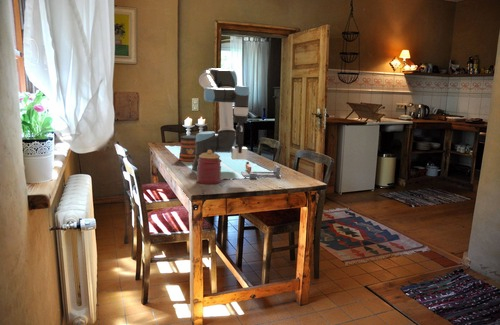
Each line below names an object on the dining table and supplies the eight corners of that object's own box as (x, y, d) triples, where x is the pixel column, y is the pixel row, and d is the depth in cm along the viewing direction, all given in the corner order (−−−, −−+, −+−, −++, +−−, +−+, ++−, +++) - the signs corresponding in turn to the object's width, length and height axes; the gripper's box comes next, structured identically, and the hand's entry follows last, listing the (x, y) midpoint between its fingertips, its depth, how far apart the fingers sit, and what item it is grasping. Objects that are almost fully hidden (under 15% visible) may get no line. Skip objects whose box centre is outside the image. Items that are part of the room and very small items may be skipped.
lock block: (232, 159, 207) (232, 146, 206) (231, 157, 213) (231, 145, 211) (247, 159, 209) (247, 147, 207) (245, 157, 214) (246, 145, 213)
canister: (222, 184, 204) (223, 151, 201) (197, 184, 202) (198, 151, 198) (218, 178, 217) (220, 147, 214) (195, 178, 214) (196, 147, 211)
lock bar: (248, 171, 234) (248, 165, 234) (245, 167, 246) (245, 161, 245) (251, 171, 235) (251, 165, 234) (248, 167, 246) (248, 161, 246)
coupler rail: (244, 178, 221) (245, 169, 220) (241, 172, 236) (241, 163, 235) (281, 179, 224) (282, 169, 223) (276, 173, 239) (276, 164, 238)
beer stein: (203, 157, 279) (204, 130, 275) (208, 161, 265) (209, 132, 262) (177, 158, 273) (178, 130, 269) (180, 162, 259) (181, 132, 255)
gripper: (250, 117, 198) (247, 161, 202) (245, 114, 216) (243, 154, 220) (235, 116, 196) (233, 160, 201) (231, 113, 214) (230, 154, 219)
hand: (238, 157), depth 211 cm, fingers closed on lock block, 5 cm apart
